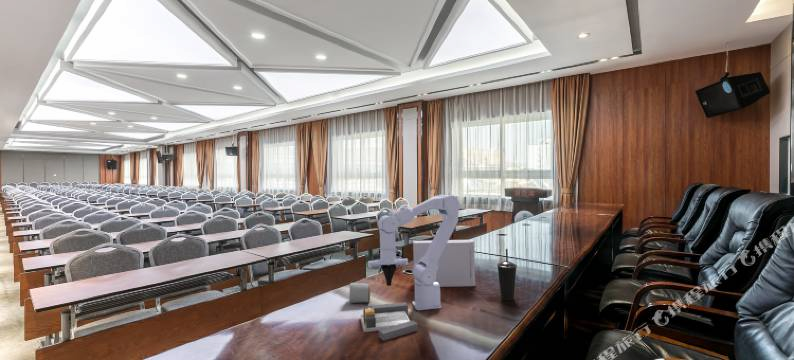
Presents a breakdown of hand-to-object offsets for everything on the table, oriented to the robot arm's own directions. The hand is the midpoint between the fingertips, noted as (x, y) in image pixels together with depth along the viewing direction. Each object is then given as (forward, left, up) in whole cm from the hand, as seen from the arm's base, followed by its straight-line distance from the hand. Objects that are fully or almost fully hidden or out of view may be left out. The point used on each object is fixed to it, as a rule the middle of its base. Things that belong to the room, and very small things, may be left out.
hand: (388, 285), depth 130 cm
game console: (-29, -24, -10) cm, 39 cm away
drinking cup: (-48, -1, -10) cm, 49 cm away
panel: (+3, +9, -10) cm, 14 cm away
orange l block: (+8, +9, -9) cm, 15 cm away
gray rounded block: (+10, -14, -10) cm, 20 cm away
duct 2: (0, +18, -10) cm, 21 cm away
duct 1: (0, +1, -10) cm, 10 cm away
